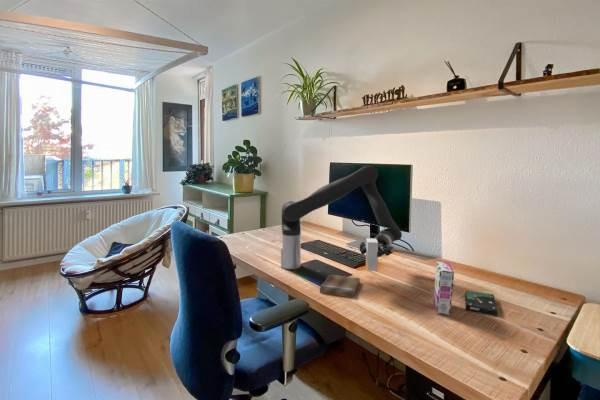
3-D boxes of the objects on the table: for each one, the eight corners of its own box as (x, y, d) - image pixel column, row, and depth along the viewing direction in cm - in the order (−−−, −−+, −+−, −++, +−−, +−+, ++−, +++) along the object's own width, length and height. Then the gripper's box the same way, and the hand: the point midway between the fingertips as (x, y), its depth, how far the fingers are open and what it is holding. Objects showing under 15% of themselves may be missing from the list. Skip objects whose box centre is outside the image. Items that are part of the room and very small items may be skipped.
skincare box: (365, 265, 137) (366, 238, 136) (375, 265, 137) (376, 238, 135) (366, 270, 131) (367, 242, 130) (377, 271, 131) (378, 242, 129)
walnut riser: (319, 292, 136) (320, 285, 135) (329, 278, 151) (329, 272, 150) (353, 297, 131) (353, 290, 131) (359, 282, 146) (359, 276, 146)
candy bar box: (451, 316, 116) (454, 272, 114) (436, 314, 118) (439, 270, 115) (446, 302, 127) (449, 262, 124) (433, 300, 128) (435, 260, 126)
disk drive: (497, 318, 116) (493, 300, 130) (498, 310, 116) (493, 293, 129) (465, 312, 121) (464, 295, 134) (466, 305, 120) (464, 289, 133)
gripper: (366, 233, 148) (353, 242, 134) (398, 237, 141) (388, 247, 127) (365, 248, 149) (352, 259, 135) (397, 253, 143) (387, 265, 128)
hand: (370, 253), depth 131 cm, fingers closed on skincare box, 6 cm apart
